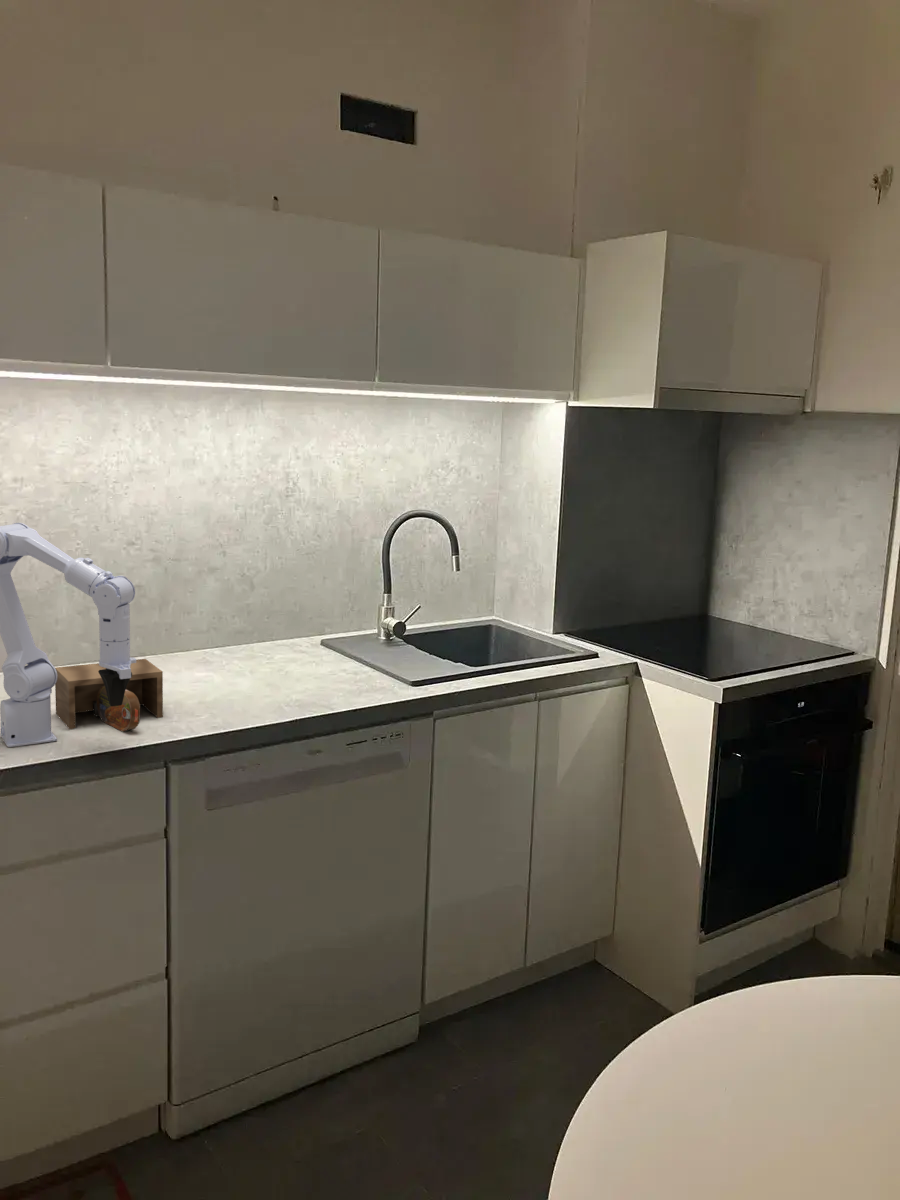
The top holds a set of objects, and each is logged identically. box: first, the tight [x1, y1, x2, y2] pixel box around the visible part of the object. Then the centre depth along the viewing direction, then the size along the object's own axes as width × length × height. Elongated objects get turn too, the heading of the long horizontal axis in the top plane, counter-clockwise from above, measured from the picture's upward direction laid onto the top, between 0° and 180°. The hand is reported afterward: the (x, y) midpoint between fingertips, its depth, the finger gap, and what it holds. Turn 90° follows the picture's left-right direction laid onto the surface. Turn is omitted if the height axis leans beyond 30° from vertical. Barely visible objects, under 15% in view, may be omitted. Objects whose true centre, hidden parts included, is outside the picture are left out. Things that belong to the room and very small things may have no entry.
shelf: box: [54, 658, 164, 730], centre depth 223 cm, size 20×12×10 cm, turn 124°
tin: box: [97, 685, 141, 732], centre depth 217 cm, size 15×3×8 cm, turn 45°
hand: (115, 705), depth 201 cm, fingers closed
